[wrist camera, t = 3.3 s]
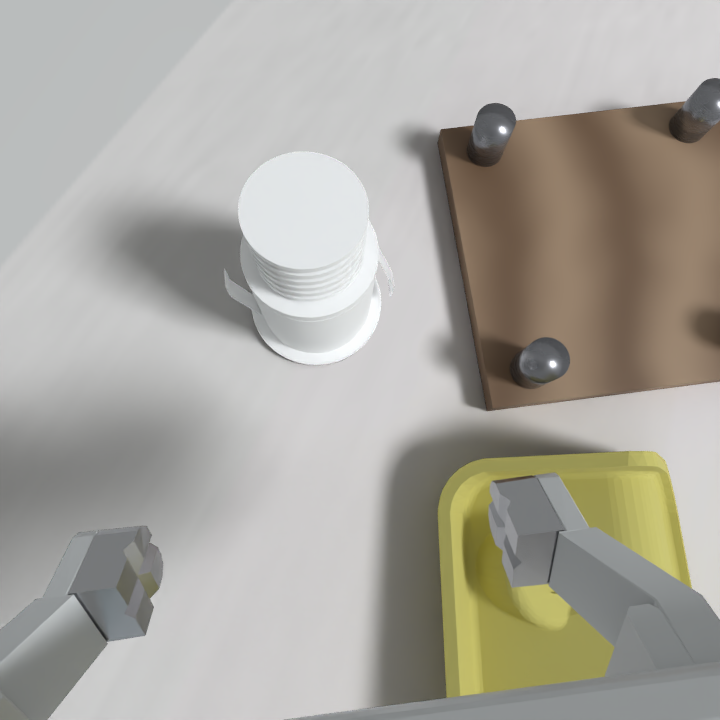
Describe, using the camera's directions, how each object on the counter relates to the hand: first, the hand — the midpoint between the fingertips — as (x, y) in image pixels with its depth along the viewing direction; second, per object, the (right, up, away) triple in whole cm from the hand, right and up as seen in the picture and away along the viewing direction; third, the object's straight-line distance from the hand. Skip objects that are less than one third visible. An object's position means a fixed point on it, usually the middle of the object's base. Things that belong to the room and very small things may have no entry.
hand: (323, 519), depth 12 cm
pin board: (+14, +10, +16) cm, 24 cm away
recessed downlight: (-1, +7, +15) cm, 17 cm away
